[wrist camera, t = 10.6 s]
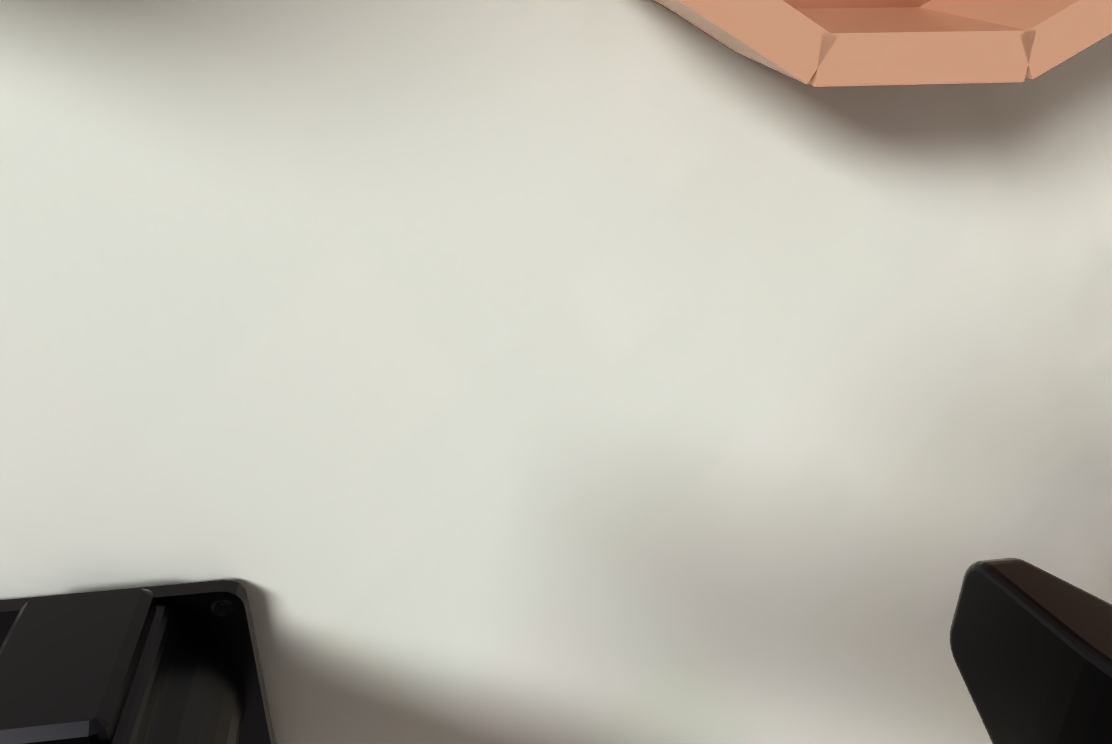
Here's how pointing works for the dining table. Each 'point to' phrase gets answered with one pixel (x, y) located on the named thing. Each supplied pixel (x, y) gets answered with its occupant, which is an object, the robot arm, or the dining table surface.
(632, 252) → the dining table surface
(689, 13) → the faceted terracotta bowl
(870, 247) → the dining table surface
